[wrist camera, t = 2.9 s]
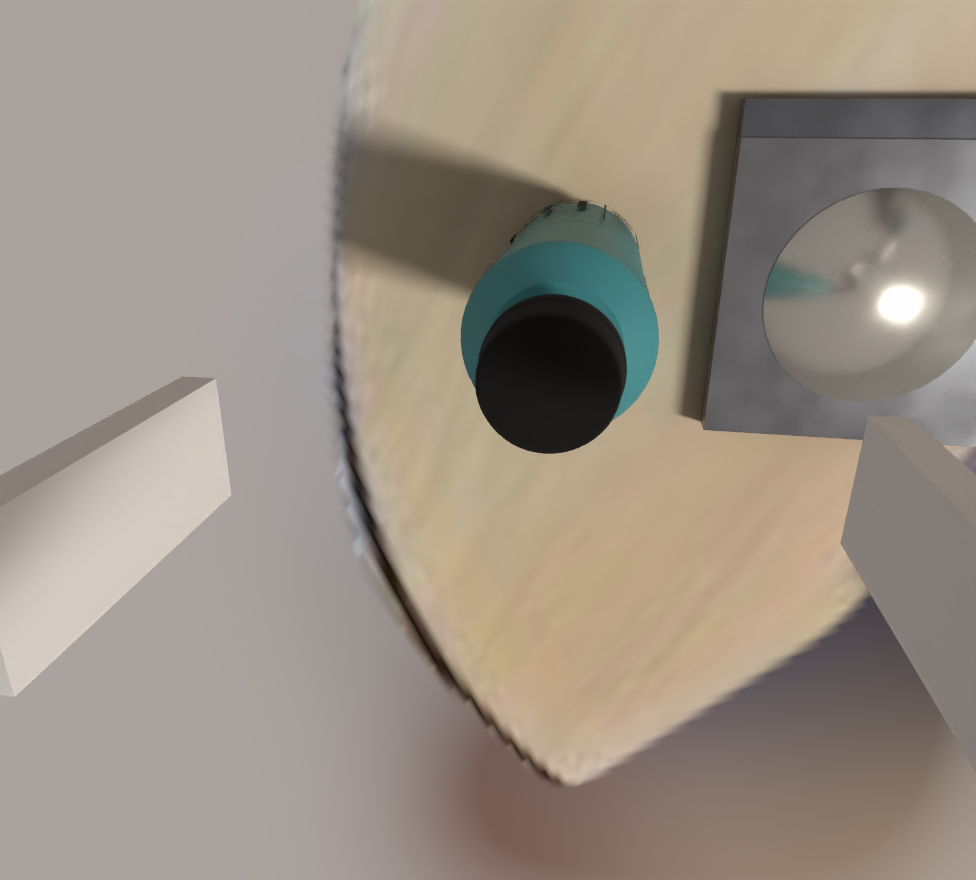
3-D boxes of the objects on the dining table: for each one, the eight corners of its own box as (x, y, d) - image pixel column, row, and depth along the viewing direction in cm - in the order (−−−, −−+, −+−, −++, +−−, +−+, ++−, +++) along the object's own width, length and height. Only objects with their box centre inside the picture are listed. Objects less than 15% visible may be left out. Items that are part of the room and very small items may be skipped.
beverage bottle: (602, 169, 35) (593, 200, 17) (667, 288, 37) (723, 435, 18) (488, 241, 37) (371, 338, 19) (554, 351, 39) (504, 539, 21)
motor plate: (741, 99, 33) (746, 98, 32) (1082, 100, 31) (1100, 98, 30) (700, 421, 39) (703, 430, 38) (984, 439, 37) (996, 448, 36)
